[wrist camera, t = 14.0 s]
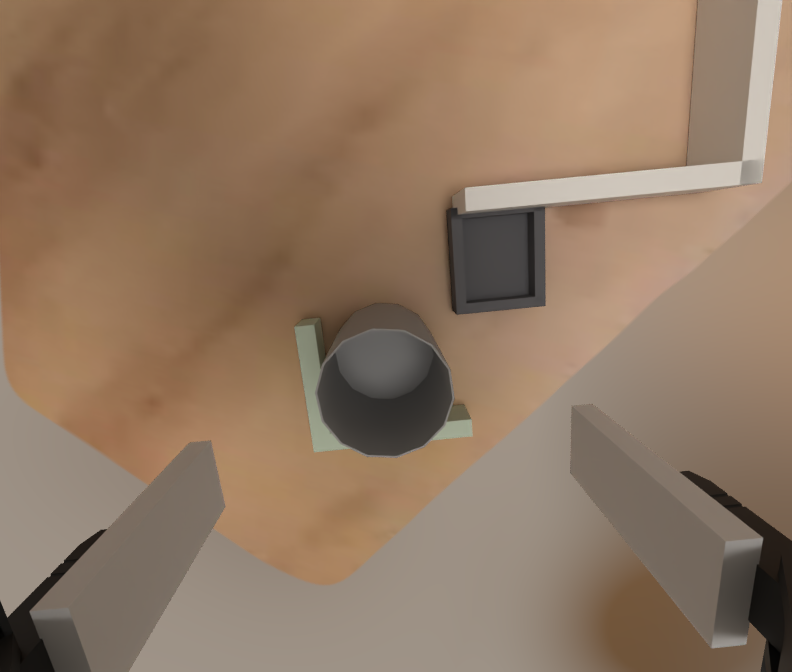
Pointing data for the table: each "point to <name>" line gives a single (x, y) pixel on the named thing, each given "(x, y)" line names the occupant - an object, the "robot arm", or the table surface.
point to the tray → (497, 259)
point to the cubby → (708, 128)
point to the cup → (384, 383)
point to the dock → (311, 364)
